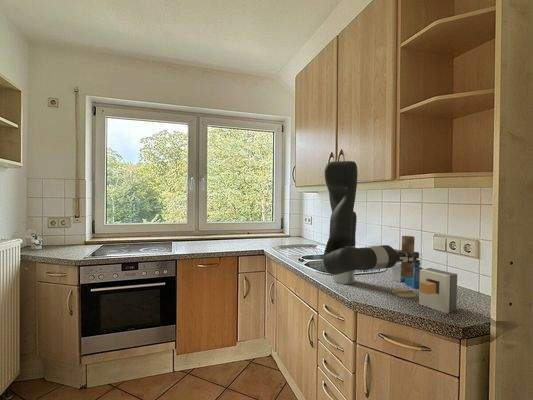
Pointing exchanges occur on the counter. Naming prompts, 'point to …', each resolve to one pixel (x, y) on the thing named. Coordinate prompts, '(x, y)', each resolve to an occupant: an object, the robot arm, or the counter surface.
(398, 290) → the stand
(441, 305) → the box
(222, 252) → the counter surface
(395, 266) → the medicine box
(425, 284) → the button
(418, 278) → the perfume bottle
